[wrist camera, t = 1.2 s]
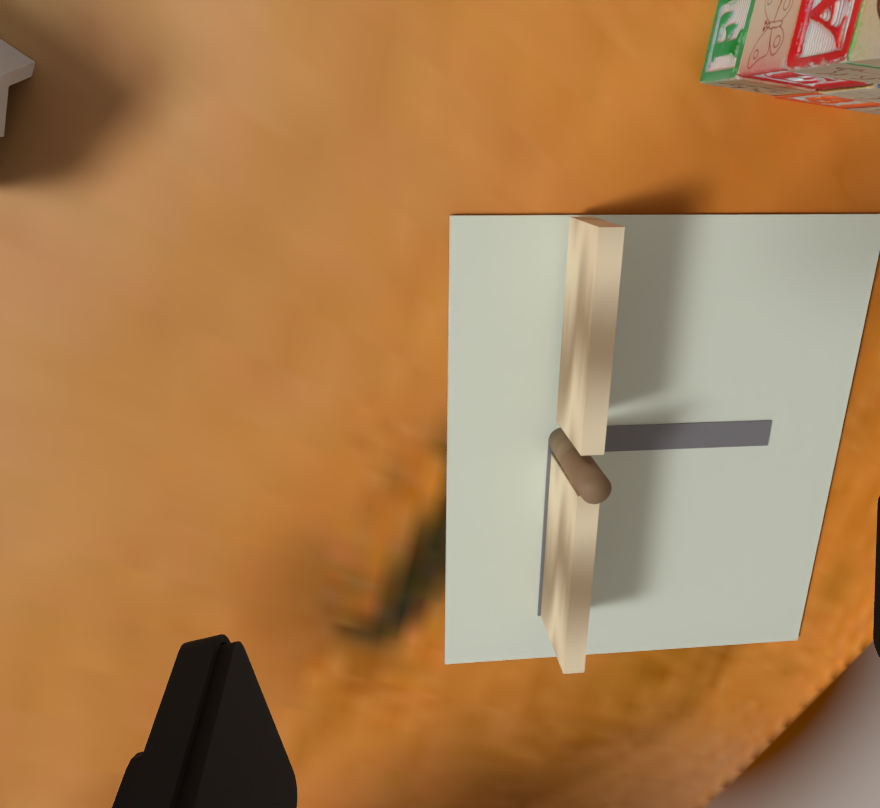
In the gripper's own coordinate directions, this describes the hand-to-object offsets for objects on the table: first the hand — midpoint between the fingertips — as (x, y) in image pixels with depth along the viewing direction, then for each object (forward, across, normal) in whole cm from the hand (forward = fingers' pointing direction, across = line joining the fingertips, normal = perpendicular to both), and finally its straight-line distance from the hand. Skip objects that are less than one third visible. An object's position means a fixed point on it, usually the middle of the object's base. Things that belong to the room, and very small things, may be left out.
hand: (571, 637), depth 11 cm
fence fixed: (+20, -3, +11) cm, 23 cm away
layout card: (+20, -8, +9) cm, 23 cm away
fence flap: (+20, -5, +2) cm, 20 cm away
